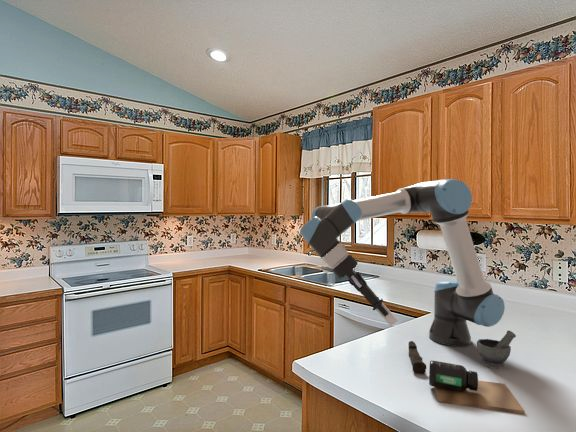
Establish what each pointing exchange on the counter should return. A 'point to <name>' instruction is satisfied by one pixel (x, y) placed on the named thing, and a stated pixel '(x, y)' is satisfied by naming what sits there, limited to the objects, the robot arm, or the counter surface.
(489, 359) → the mortar and pestle
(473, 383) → the supplement bottle
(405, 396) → the counter surface
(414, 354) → the hand tool
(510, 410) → the cutting board
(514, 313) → the counter surface
